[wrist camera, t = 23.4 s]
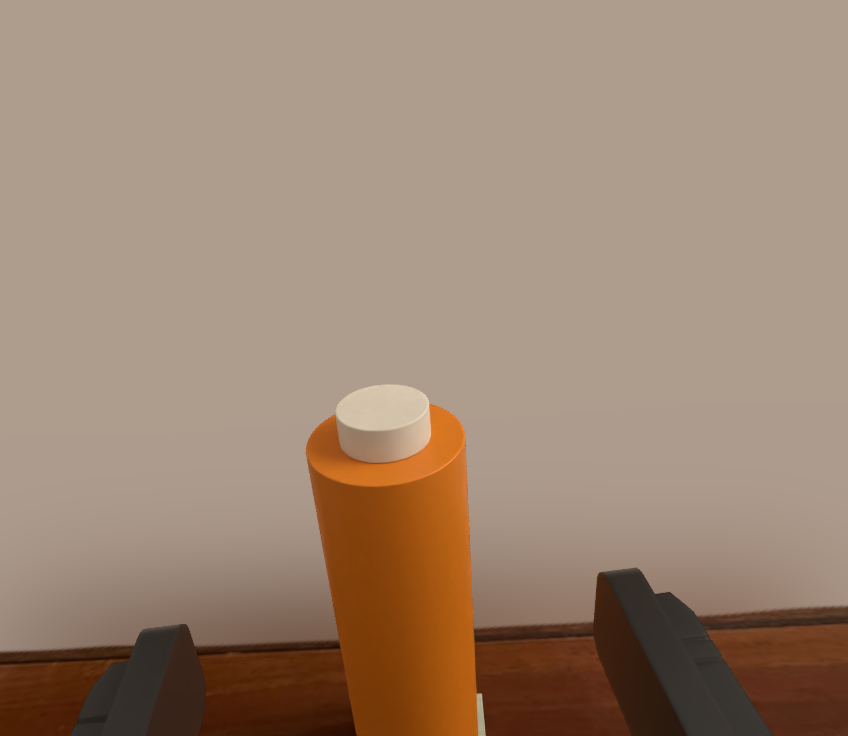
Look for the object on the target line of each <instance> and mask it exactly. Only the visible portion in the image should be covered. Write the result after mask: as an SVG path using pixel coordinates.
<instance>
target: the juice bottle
mask: <svg viewBox="0 0 848 736" xmlns="http://www.w3.org/2000/svg"><path fill="white" fill-rule="evenodd" d="M306 456H307V462H308V467H309V473H310V478H311V483H312V489H313V495H314V501H315V506H316V512H317V518H318V523H319V529H320V534H321V540H322V546H323V551H324V557H325V562H326V568H327V574H328V579H329V585H330V590H331V596H332V601H333V607H334V612H335V618H336V624H337V629H338V635H339V641H340V646H341V652H342V658H343V663H344V669H345V674H346V680H347V686H348V691H349V697H350V702H351V708H352V714H353V719H354V725H355V730H356V736H478V717H477V694H476V672H475V649H474V626H473V605H472V604H473V603H472V580H471V558H470V535H469V512H468V489H467V468H466V467H467V466H466V444H465V432H464V429H463V426H462V425H461V423H460V422H459V420H458V419H457V418H456V417H455V416H454V415H453V414H451V413H450V412H448V411H446V410H444V409H443V408H440V407H438V406H435V405H432V404H429V401H428V399H427V397H426V396H425V395H424V394H423V393H422V392H421V391H419V390H417V389H415V388H412V387H408V386H403V385H393V384H390V385H389V384H388V385H377V386H371V387H367V388H363V389H360V390H357V391H355V392H353V393H351V394H349V395H347V396H346V397H345V398H343V399H342V400H341V401H340V402H339V403H338V405H337V407H336V410H335V415H333V416H331V417H330V418H328V419H327V420H325V421H324V422H323V423H321V424H320V425H319V426H318V427H317V428H316V429H315V430H314V431H313V433H312V434H311V436H310V438H309V440H308V442H307V446H306Z"/></svg>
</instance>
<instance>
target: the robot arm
mask: <svg viewBox="0 0 848 736" xmlns="http://www.w3.org/2000/svg"><path fill="white" fill-rule="evenodd" d="M593 628H594V639H595V644H596V649H597V652H598V656H599V659H600V661H601V664H602V666H603V668H604V671H605V673H606V675H607V678H608V680H609V682H610V685H611V687H612V689H613V692H614V694H615V696H616V699H617V701H618V704H619V706H620V708H621V711H622V713H623V715H624V718H625V720H626V722H627V725H628V727H629V729H630V732H631V734H632V736H773V735H772V733H771V732H770V730H769V728H768V727H767V725H766V724H765V722H764V721H763V719H762V718H761V716H760V714H759V713H758V711H757V710H756V708H755V707H754V705H753V703H752V702H751V700H750V699H749V697H748V696H747V694H746V693H745V691H744V689H743V688H742V686H741V685H740V683H739V682H738V680H737V679H736V677H735V675H734V674H733V672H732V671H731V669H730V668H729V666H728V664H727V663H726V661H725V660H724V661H723V659H722V655H721V654H720V652H719V650H718V649H717V647H716V646H715V644H714V643H713V641H712V640H710V639H709V635H708V633H707V632H706V630H705V629H704V627H703V626H702V624H701V622H700V621H699V619H698V618H697V616H696V615H695V613H694V612H693V611H692V610H691V609H690V608H688V607H687V606H686V605H685V604H684V603H683V602H681V601H680V600H679V599H678V598H676V597H675V596H674V595H673V594H672V593H670V592H666V593H659V594H654V592H653V590H652V589H651V587H650V585H649V583H648V582H647V580H646V578H645V577H644V575H643V574H642V572H641V571H640V570H639V569H637V568H630V569H623V570H615V571H608V572H600V573H599V574H598V577H597V588H596V600H595V613H594V627H593ZM205 703H206V685H205V678H204V675H203V671H202V668H201V665H200V662H199V659H198V656H197V653H196V649H195V646H194V643H193V640H192V637H191V634H190V631H189V628H188V627H187V625H186V624H179V625H172V626H164V627H156V628H148V629H144V630H142V632H141V633H140V634H139V636H138V638H137V641H136V643H135V646H134V649H133V651H132V654H131V656H130V659H129V661H126V662H119V663H112V664H111V666H110V667H109V668H108V669H107V670H106V672H105V673H104V674H103V675H102V676H101V678H100V679H99V680H98V681H97V682H96V684H95V685H94V686H93V687H92V688H91V689H90V691H89V694H88V696H87V698H86V700H85V703H84V705H83V707H82V710H81V712H80V714H79V717H78V719H77V720H78V722H77V725H75V726H74V728H73V731H72V733H71V735H70V736H199V733H200V729H201V724H202V720H203V716H204V711H205Z"/></svg>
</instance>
